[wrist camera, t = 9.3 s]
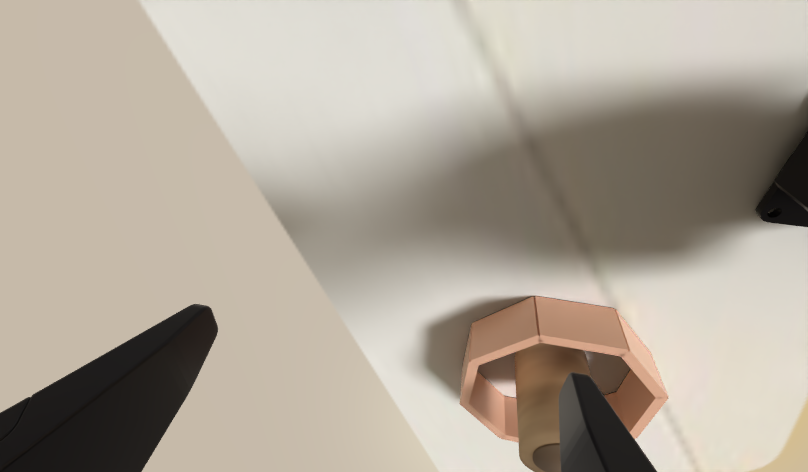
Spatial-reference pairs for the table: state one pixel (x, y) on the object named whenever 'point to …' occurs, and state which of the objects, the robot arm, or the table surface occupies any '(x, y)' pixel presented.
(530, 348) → the oak tube
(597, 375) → the table surface
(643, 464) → the robot arm
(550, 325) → the pink octagonal ring
